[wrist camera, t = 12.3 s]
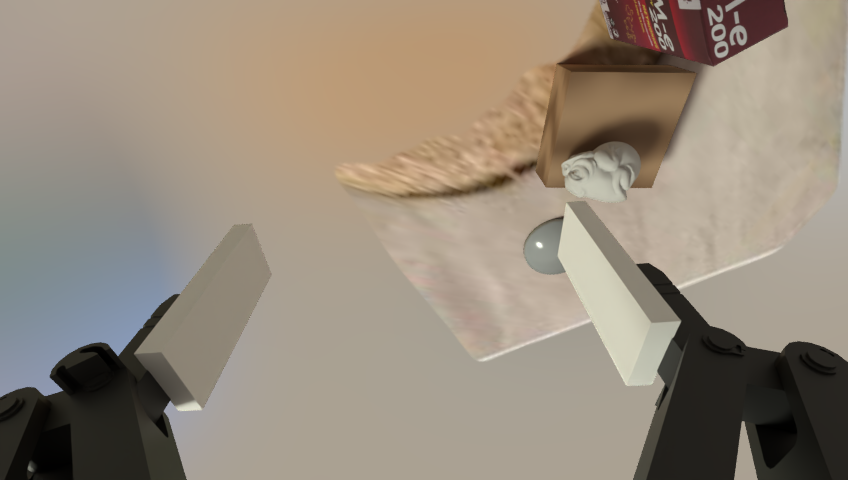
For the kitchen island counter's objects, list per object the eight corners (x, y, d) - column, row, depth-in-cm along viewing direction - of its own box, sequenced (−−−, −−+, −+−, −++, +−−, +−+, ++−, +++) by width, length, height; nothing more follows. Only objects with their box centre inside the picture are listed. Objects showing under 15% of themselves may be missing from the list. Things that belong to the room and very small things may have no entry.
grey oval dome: (526, 220, 49) (527, 223, 48) (594, 215, 49) (597, 218, 48) (521, 272, 54) (522, 276, 53) (583, 268, 54) (584, 272, 53)
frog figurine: (608, 111, 35) (555, 163, 35) (670, 158, 33) (613, 212, 34) (593, 139, 41) (548, 183, 41) (645, 180, 39) (597, 226, 39)
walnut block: (554, 63, 39) (571, 71, 35) (667, 64, 39) (696, 73, 35) (534, 169, 46) (546, 187, 41) (630, 170, 46) (651, 187, 42)
